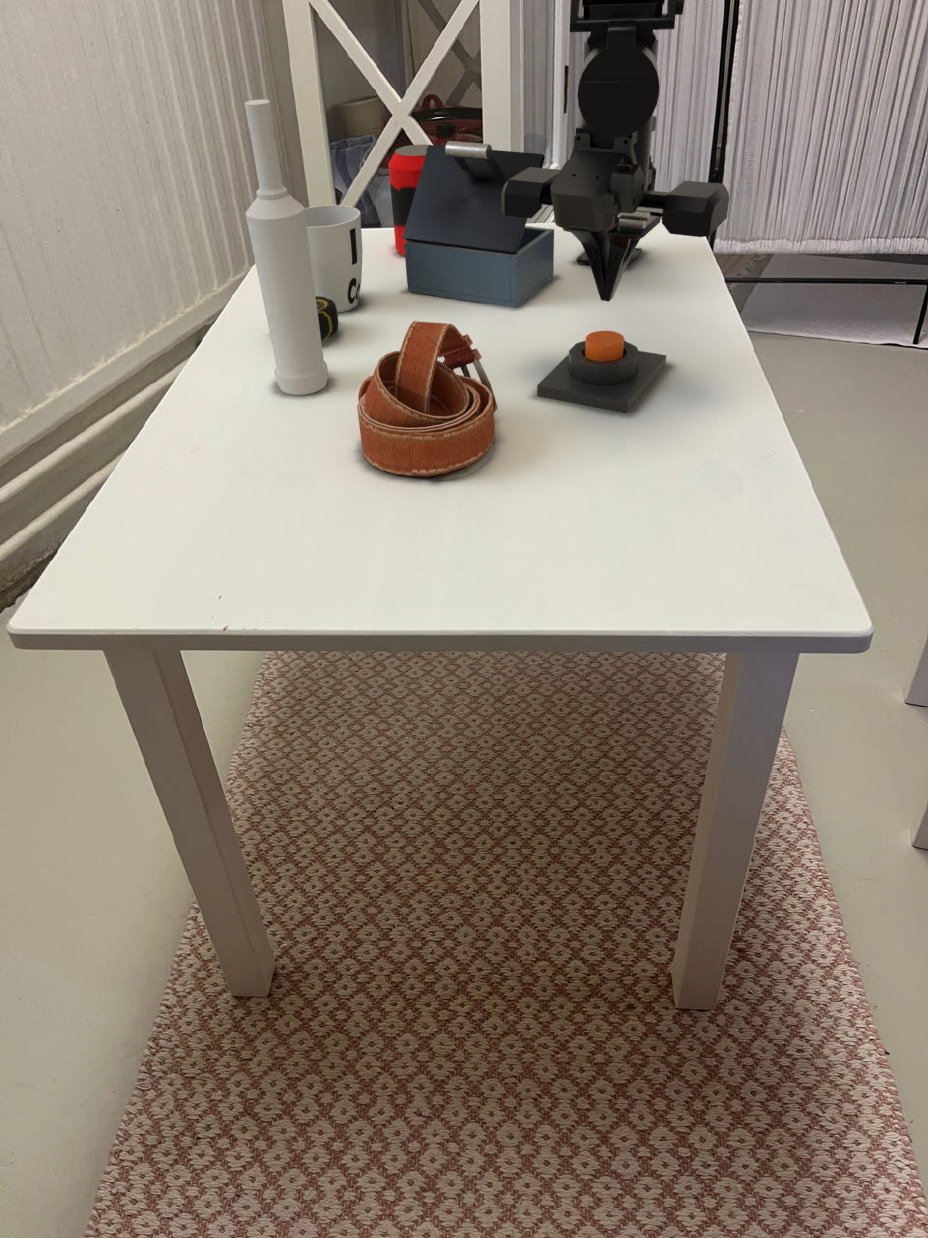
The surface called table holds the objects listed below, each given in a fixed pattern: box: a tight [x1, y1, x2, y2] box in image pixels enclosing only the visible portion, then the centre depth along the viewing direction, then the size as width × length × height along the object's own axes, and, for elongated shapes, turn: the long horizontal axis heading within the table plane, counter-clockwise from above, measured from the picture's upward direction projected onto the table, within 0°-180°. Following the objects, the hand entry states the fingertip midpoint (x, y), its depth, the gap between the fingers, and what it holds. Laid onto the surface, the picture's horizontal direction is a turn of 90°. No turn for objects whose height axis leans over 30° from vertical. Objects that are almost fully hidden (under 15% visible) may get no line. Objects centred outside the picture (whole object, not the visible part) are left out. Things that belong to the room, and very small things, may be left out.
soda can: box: [387, 144, 429, 257], centre depth 119 cm, size 8×8×12 cm
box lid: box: [402, 140, 546, 255], centre depth 102 cm, size 11×14×5 cm
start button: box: [585, 330, 625, 362], centre depth 88 cm, size 4×4×2 cm
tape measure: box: [316, 296, 340, 342], centre depth 100 cm, size 7×7×4 cm
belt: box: [356, 320, 499, 478], centre depth 79 cm, size 14×13×10 cm
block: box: [536, 339, 667, 414], centre depth 89 cm, size 11×9×3 cm
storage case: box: [404, 225, 555, 309], centre depth 110 cm, size 10×14×6 cm
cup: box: [304, 204, 363, 314], centre depth 105 cm, size 8×8×10 cm
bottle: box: [244, 99, 329, 396], centre depth 84 cm, size 5×5×25 cm
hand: (606, 299), depth 85 cm, fingers closed
